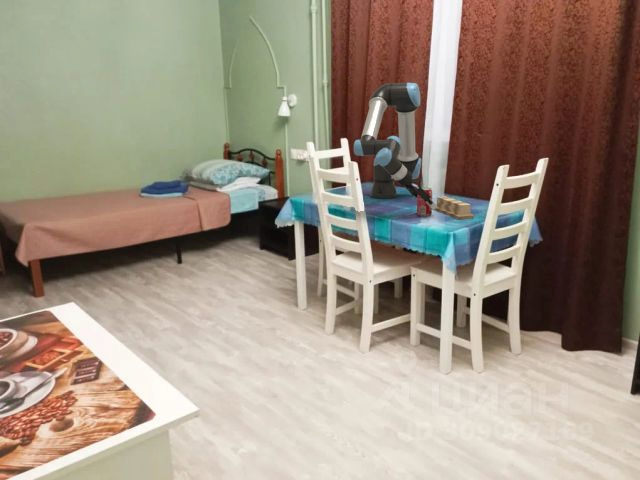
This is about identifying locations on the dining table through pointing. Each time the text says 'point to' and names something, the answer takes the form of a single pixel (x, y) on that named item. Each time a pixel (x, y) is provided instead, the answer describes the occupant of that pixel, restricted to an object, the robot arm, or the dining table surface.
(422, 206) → the soda can
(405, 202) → the dining table surface
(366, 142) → the robot arm
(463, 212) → the ridge
